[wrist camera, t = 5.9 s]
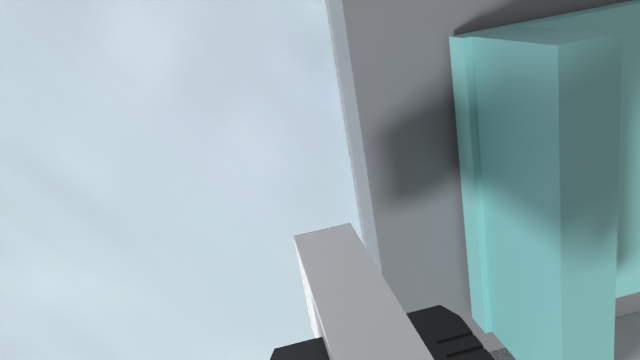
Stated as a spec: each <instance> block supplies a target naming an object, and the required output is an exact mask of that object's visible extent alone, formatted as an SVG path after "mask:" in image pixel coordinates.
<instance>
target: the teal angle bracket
mask: <svg viewBox="0 0 640 360" xmlns="http://www.w3.org/2000/svg"><path fill="white" fill-rule="evenodd" d="M449 44H450V56H451V68H452V80H453V92H454V104H455V116H456V128H457V140H458V152H459V165H460V177H461V189H462V201H463V213H464V225H465V237H466V249H467V261H468V273H469V285H470V297H471V309H472V318H473V319H474V320H475V321H476V323H477V324H478V325H479V326H480V327H481V329H482V330H483V331H484V332H485V333H488V332H493V333H494V334H495V336H496V337H497V338H498V339H499V340H500V341H501V343H502V344H503V345H504V346H505V347H506V349H507V350H508V351H509V352H510V353H511V354H512V356H513V357H514V358H515V359H516V360H614V337H615V299H616V298H618V297H622V296H626V295H629V294H633V293H637V292H640V0H632V1H627V2H622V3H617V4H611V5H606V6H601V7H596V8H591V9H586V10H581V11H576V12H571V13H566V14H561V15H556V16H550V17H545V18H540V19H535V20H530V21H525V22H520V23H515V24H510V25H505V26H500V27H494V28H489V29H484V30H479V31H474V32H469V33H464V34H459V35H454V36H449Z"/></svg>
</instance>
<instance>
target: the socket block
mask: <svg viewBox="0 0 640 360" xmlns="http://www.w3.org/2000/svg"><path fill="white" fill-rule="evenodd" d="M627 1H632V0H326V5H327V11H328V18H329V24H330V31H331V37H332V43H333V50H334V56H335V63H336V69H337V75H338V82H339V88H340V94H341V101H342V107H343V114H344V120H345V126H346V133H347V139H348V145H349V152H350V158H351V165H352V171H353V177H354V184H355V190H356V196H357V203H358V209H359V216H360V222H361V228H362V235H363V241H364V246H365V248H366V250H367V251H368V253H369V255H370V256H371V258H372V259H373V261H374V263H375V264H376V266H377V268H378V269H379V271H380V272H381V274H382V276H383V277H384V279H385V281H386V282H387V284H388V285H389V287H390V289H391V290H392V292H393V294H394V295H395V297H396V298H397V300H398V302H399V303H400V305H401V307H402V308H403V310H404V311H405V313H410V312H413V311H417V310H421V309H425V308H429V307H433V306H437V305H441V306H443V307H445V308H447V309H449V310H450V311H452V312H454V313H456V314H457V315H459V316H460V317H461V318H462V319H463V320H464V322H465V323H466V324H467V325H468V327H469V328H470V329H471V330H472V332H473V335H475V336H476V337H477V338H478V339H479V341H480V342H481V343H482V344H483V347H484V349H486V350H487V351H488V352H493V351H496V350H500V349H504V348H506V347H505V346H504V345H503V344H502V343H501V341H500V340H499V339H498V338H497V337H496V336H495V334H494V333H493V332H488V333H485V332H484V331H483V330H482V329H481V327H480V326H479V325H478V324H477V323H476V321H475V320H474V319H473V318H472V309H471V297H470V285H469V273H468V261H467V249H466V237H465V225H464V213H463V201H462V189H461V177H460V165H459V152H458V140H457V128H456V116H455V104H454V92H453V80H452V68H451V56H450V44H449V36H454V35H459V34H464V33H469V32H474V31H479V30H484V29H489V28H494V27H500V26H505V25H510V24H515V23H520V22H525V21H530V20H535V19H540V18H545V17H550V16H556V15H561V14H566V13H571V12H576V11H581V10H586V9H591V8H596V7H601V6H606V5H611V4H617V3H622V2H627ZM639 311H640V292H637V293H633V294H629V295H626V296H622V297H618V298H616V299H615V318H617V317H620V316H624V315H628V314H631V313H635V312H639Z"/></svg>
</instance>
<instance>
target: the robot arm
mask: <svg viewBox="0 0 640 360" xmlns="http://www.w3.org/2000/svg"><path fill="white" fill-rule="evenodd" d="M293 237H294V242H295V247H296V252H297V256H298V261H299V266H300V271H301V276H302V281H303V286H304V291H305V296H306V301H307V306H308V311H309V316H310V321H311V326H312V329H313V333H314V336H315V339H311V340H307V341H303V342H299V343H295V344H292V345H288V346H284V347H280V348H276V349H274V351H273V354H272V356H271V359H270V360H494V358H493V357H492V356H491V355H490V353H489V352H488V351H487V350H486V349H484V347H483V344H482V343H481V342H480V341H479V339H478V338H477V337H476V336H475V335H473V332H472V330H471V329H470V328H469V327H468V325H467V324H466V323H465V322H464V320H463V319H462V318H461V317H460V316H459V315H457V314H456V313H454V312H452V311H450V310H449V309H447V308H445V307H443V306H441V305H437V306H433V307H429V308H425V309H421V310H417V311H413V312H410V313H405V311H404V310H403V308H402V307H401V305H400V303H399V302H398V300H397V298H396V297H395V295H394V294H393V292H392V290H391V289H390V287H389V285H388V284H387V282H386V281H385V279H384V277H383V276H382V274H381V272H380V271H379V269H378V268H377V266H376V264H375V263H374V261H373V259H372V258H371V256H370V255H369V253H368V251H367V250H366V248H365V246H364V245H363V243H362V241H361V240H360V238H359V237H358V235H357V233H356V232H355V230H354V228H353V227H352V225H351V224H350V223H348V224H344V225H339V226H335V227H331V228H326V229H322V230H318V231H313V232H309V233H305V234H300V235H296V236H293Z"/></svg>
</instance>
